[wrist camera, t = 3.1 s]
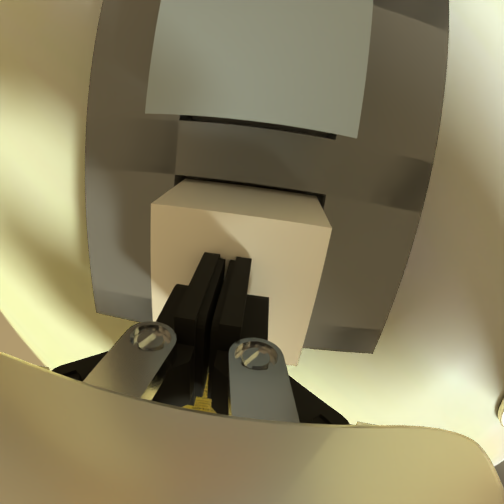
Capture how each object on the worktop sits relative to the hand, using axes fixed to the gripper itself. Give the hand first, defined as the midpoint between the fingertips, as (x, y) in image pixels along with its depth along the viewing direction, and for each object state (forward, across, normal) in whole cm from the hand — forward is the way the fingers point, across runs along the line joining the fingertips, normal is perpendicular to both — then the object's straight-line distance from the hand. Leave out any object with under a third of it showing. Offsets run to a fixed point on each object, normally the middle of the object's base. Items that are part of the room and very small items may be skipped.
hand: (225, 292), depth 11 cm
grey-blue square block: (+4, 0, -9) cm, 10 cm away
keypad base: (+7, 0, -9) cm, 11 cm away
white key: (+4, 0, 0) cm, 4 cm away
